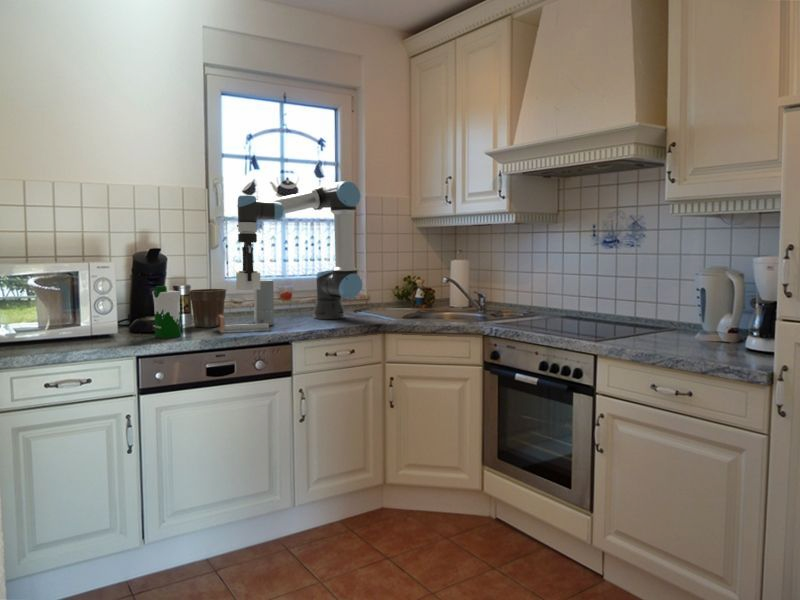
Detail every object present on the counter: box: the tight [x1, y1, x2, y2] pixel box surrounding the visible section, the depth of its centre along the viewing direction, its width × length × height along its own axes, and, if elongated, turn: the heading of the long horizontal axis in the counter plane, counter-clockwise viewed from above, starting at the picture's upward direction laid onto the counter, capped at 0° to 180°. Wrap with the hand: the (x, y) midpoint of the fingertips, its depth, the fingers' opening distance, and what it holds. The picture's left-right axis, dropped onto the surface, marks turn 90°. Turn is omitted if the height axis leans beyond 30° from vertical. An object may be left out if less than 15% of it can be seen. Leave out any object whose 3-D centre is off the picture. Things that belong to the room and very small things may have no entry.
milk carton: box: [152, 285, 182, 340], centre depth 238 cm, size 9×9×20 cm
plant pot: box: [187, 288, 228, 328], centre depth 270 cm, size 16×16×16 cm
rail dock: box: [217, 314, 272, 335], centre depth 256 cm, size 20×12×6 cm, turn 111°
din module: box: [235, 270, 261, 291], centre depth 255 cm, size 9×6×8 cm, turn 112°
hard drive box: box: [253, 278, 275, 326], centre depth 277 cm, size 16×8×20 cm, turn 18°
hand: (248, 288), depth 255 cm, fingers closed on din module, 6 cm apart
